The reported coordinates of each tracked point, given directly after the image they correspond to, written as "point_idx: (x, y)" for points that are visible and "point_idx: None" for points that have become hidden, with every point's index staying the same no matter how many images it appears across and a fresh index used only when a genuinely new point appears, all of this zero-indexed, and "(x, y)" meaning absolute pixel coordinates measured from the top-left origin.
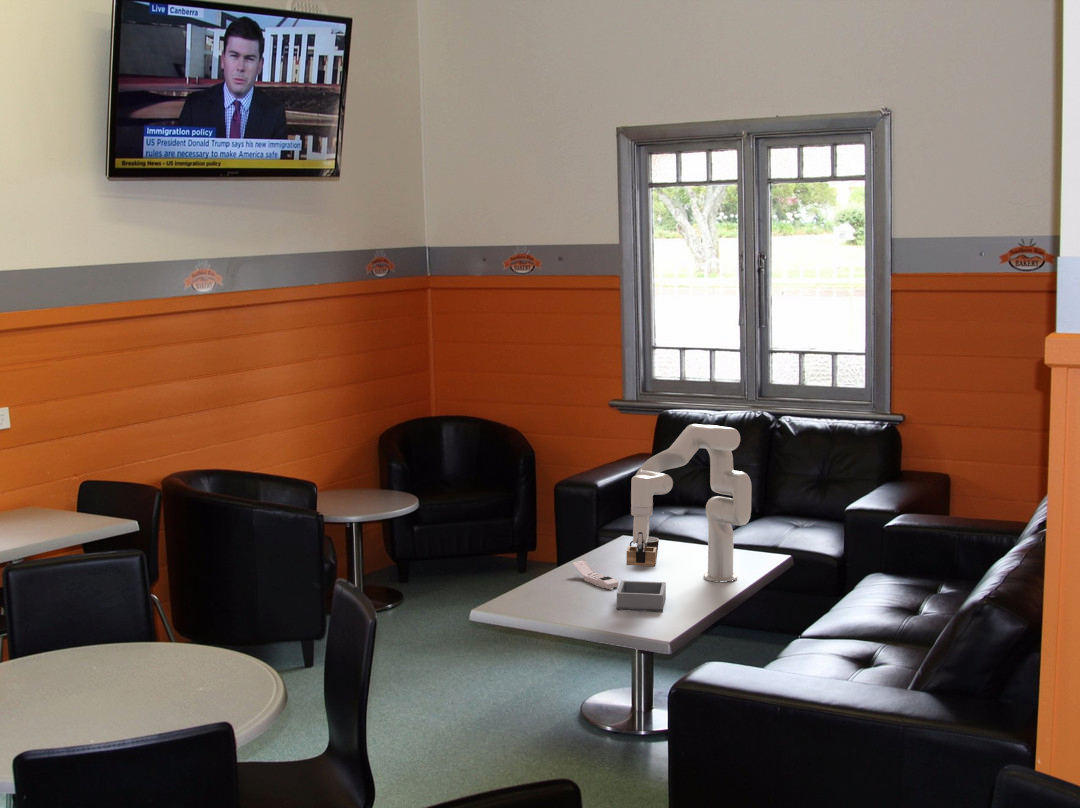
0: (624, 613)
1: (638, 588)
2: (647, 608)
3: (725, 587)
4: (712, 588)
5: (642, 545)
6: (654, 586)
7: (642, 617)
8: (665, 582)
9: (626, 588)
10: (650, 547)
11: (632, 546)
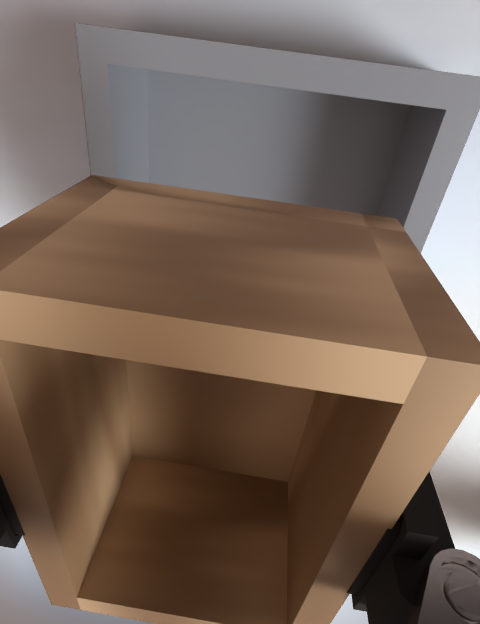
0: (74, 91)
1: (391, 215)
2: None
3: (462, 518)
4: (463, 489)
5: (381, 591)
6: None
7: (36, 196)
8: None
9: (420, 122)
10: (304, 616)
11: (431, 445)
